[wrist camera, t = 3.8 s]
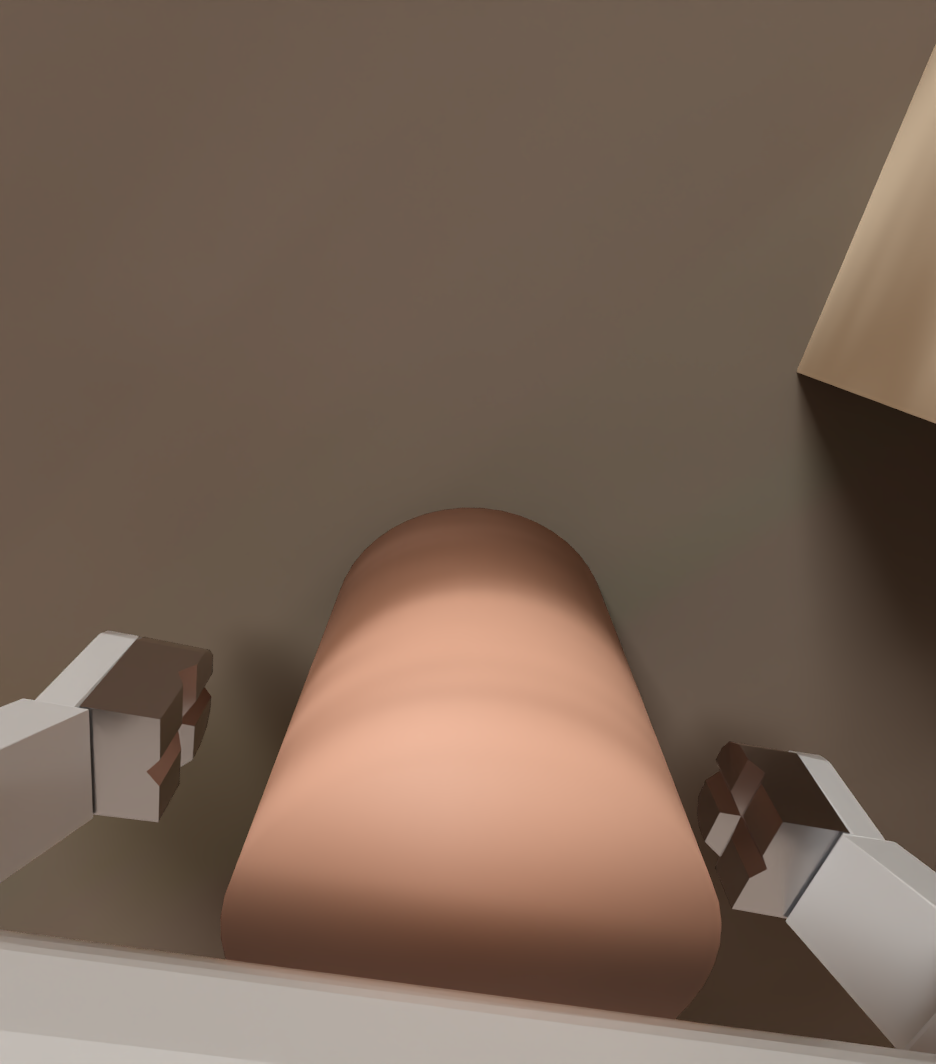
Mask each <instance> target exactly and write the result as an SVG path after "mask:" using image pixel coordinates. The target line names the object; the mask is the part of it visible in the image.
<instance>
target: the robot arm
mask: <svg viewBox="0 0 936 1064" xmlns="http://www.w3.org/2000/svg"><path fill="white" fill-rule="evenodd" d="M212 673H213V654H212V652H211V651H210V650H208V649H203V648H198V647H193V646H188V645H183V644H178V643H173V642H168V641H163V640H158V639H153V638H148V637H140V636H136V635H130V634H125V633H120V632H114V631H106V632H103V633H100V634H99V635H98V636H97V637H96V638H95V639H94V640H93V641H92V642H91V643H90V644H89V645H88V646H87V647H86V648H85V649H84V650H83V651H82V652H81V653H80V654H79V655H78V656H77V657H76V658H75V659H74V660H73V661H72V662H71V663H70V664H69V665H68V666H67V667H66V669H65V670H64V671H63V672H62V673H61V674H60V675H59V676H58V677H57V678H56V679H55V680H54V681H53V682H52V683H51V684H50V685H49V686H48V687H47V688H46V689H45V690H44V691H43V692H42V693H41V694H40V695H39V696H38V697H37V698H36V699H35V700H29V699H21V700H18V701H16V702H13V703H10V704H8V705H5V706H3V707H0V883H1V882H2V881H4V880H5V879H6V878H8V877H9V876H11V875H12V874H14V873H15V872H16V871H18V870H19V869H21V868H22V867H24V866H25V865H26V864H28V863H29V862H31V861H32V860H34V859H35V858H37V857H38V856H39V855H41V854H42V853H44V852H45V851H47V850H48V849H49V848H51V847H52V846H54V845H55V844H57V843H58V842H59V841H61V840H62V839H64V838H65V837H67V836H68V835H69V834H71V833H72V832H74V831H75V830H77V829H78V828H80V827H81V826H82V825H84V824H85V823H87V822H88V821H90V820H91V819H92V818H93V814H95V815H103V816H111V817H119V818H128V819H136V820H144V821H152V822H159V820H160V818H161V817H162V815H163V813H164V811H165V809H166V808H167V806H168V804H169V802H170V800H171V799H172V797H173V795H174V793H175V791H176V789H177V788H178V786H179V784H180V767H181V766H183V765H185V764H186V763H188V762H190V761H191V760H193V758H194V756H195V754H196V752H197V750H198V749H199V747H200V745H201V742H202V739H203V736H204V733H205V730H206V728H207V724H208V719H209V714H210V707H211V696H210V694H209V693H208V691H207V690H206V688H205V685H206V683H207V682H208V680H209V678H210V677H211V675H212ZM716 762H717V765H718V768H719V770H720V771H719V772H718V773H716V774H715V775H713V776H711V777H710V778H708V779H707V780H705V782H704V785H703V787H702V789H701V792H700V794H699V796H698V808H697V816H698V822H699V828H700V830H701V833H702V836H703V838H704V841H705V842H706V843H707V844H708V845H709V846H710V847H711V848H712V849H713V850H714V851H715V852H716V853H717V854H718V855H719V858H718V861H717V864H716V867H715V869H716V871H717V873H718V876H719V878H720V881H721V883H722V886H723V888H724V891H725V893H726V895H727V898H728V900H729V903H730V905H731V908H732V909H736V910H742V911H747V912H753V913H758V914H764V915H769V916H775V917H780V918H786V919H787V920H786V923H787V924H788V925H789V926H790V927H791V928H792V929H793V931H794V932H795V933H796V934H797V935H798V936H799V937H800V939H801V940H802V941H803V942H804V943H805V944H806V946H807V947H808V948H809V949H810V950H811V951H812V952H813V954H814V955H815V956H816V957H817V958H818V959H819V960H820V962H821V963H822V964H823V965H824V966H825V967H826V969H827V970H828V971H829V972H830V973H831V974H832V975H833V977H834V978H835V979H836V980H837V981H838V982H839V983H840V985H841V986H842V987H843V988H844V989H845V990H846V992H847V993H848V994H849V995H850V996H851V997H852V998H853V1000H854V1001H855V1002H856V1003H857V1004H858V1005H859V1006H860V1008H861V1009H862V1010H863V1011H864V1012H865V1013H866V1015H867V1016H868V1017H869V1018H870V1019H871V1020H872V1021H873V1023H874V1024H875V1025H876V1026H877V1027H878V1028H879V1029H880V1031H881V1032H882V1033H883V1034H884V1035H885V1036H886V1037H887V1039H888V1040H889V1041H890V1042H891V1043H892V1044H893V1046H894V1047H895V1048H896V1049H894V1048H887V1047H879V1046H872V1045H864V1044H857V1043H849V1042H842V1041H835V1040H827V1039H820V1038H812V1037H805V1036H797V1035H789V1034H782V1033H774V1032H767V1031H759V1030H751V1029H744V1028H736V1027H729V1026H721V1025H714V1024H706V1023H698V1022H691V1021H683V1020H676V1019H668V1018H661V1017H653V1016H645V1015H638V1014H630V1013H623V1012H615V1011H608V1010H600V1009H593V1008H585V1007H578V1006H570V1005H563V1004H555V1003H548V1002H540V1001H533V1000H525V999H518V998H510V997H503V996H495V995H488V994H480V993H473V992H466V991H458V990H451V989H443V988H436V987H428V986H421V985H413V984H406V983H398V982H391V981H383V980H376V979H368V978H361V977H353V976H346V975H338V974H331V973H323V972H316V971H308V970H301V969H293V968H286V967H278V966H271V965H263V964H256V963H248V962H241V961H233V960H226V959H218V958H211V957H203V956H196V955H188V954H181V953H173V952H166V951H158V950H151V949H143V948H135V947H128V946H120V945H113V944H105V943H98V942H90V941H83V940H75V939H68V938H60V937H53V936H45V935H38V934H30V933H23V932H15V931H8V930H0V1064H936V872H935V871H933V870H932V869H930V868H929V867H928V866H926V865H925V864H924V863H922V862H921V861H920V860H918V859H917V858H916V857H914V856H913V855H912V854H910V853H909V852H908V851H906V850H905V849H904V848H902V847H901V846H900V845H898V844H897V843H896V842H892V841H887V840H885V839H884V838H883V836H882V835H881V833H880V832H879V831H878V829H877V828H876V826H875V825H874V824H873V822H872V821H871V819H870V818H869V817H868V815H867V814H866V812H865V811H864V810H863V808H862V807H861V805H860V804H859V803H858V801H857V800H856V798H855V797H854V796H853V794H852V793H851V791H850V790H849V789H848V787H847V786H846V784H845V783H844V782H843V780H842V779H841V777H840V776H839V775H838V773H837V772H836V770H835V769H834V768H833V766H832V765H831V763H830V762H829V761H828V760H826V759H825V758H823V757H822V756H820V755H816V754H809V753H802V752H796V751H783V750H778V749H772V748H766V747H760V746H754V745H748V744H742V743H736V742H728V743H727V744H726V745H725V746H723V747H722V749H721V751H720V753H719V754H718V756H717V758H716Z"/></svg>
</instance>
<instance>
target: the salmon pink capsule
mask: <svg viewBox="0 0 936 1064" xmlns="http://www.w3.org/2000/svg"><path fill="white" fill-rule="evenodd" d="M721 925H722V923H721V915H720V907H719V901H718V898H717V895H716V892H715V889H714V886H713V883H712V881H711V878H710V875H709V873H708V870H707V868H706V865H705V862H704V860H703V857H702V855H701V852H700V849H699V847H698V844H697V842H696V839H695V836H694V834H693V831H692V829H691V826H690V823H689V821H688V818H687V816H686V813H685V810H684V808H683V805H682V803H681V800H680V797H679V795H678V792H677V790H676V787H675V784H674V782H673V779H672V777H671V774H670V771H669V769H668V766H667V764H666V761H665V758H664V756H663V753H662V751H661V748H660V745H659V743H658V740H657V738H656V735H655V732H654V730H653V727H652V725H651V722H650V719H649V717H648V714H647V712H646V709H645V706H644V704H643V701H642V699H641V696H640V693H639V691H638V688H637V686H636V683H635V680H634V678H633V675H632V673H631V670H630V667H629V665H628V662H627V660H626V657H625V654H624V652H623V649H622V647H621V644H620V641H619V639H618V636H617V634H616V631H615V628H614V626H613V623H612V621H611V618H610V615H609V613H608V610H607V608H606V605H605V602H604V600H603V597H602V595H601V592H600V589H599V587H598V584H597V582H596V580H595V578H594V576H593V574H592V573H591V571H590V569H589V567H588V566H587V565H586V563H585V562H584V561H583V559H582V558H581V556H580V555H579V554H578V553H577V552H576V551H575V550H574V549H573V548H572V547H571V546H570V545H569V544H568V543H567V542H566V541H564V540H563V539H562V538H560V537H559V536H558V535H556V534H555V533H554V532H552V531H551V530H549V529H547V528H545V527H544V526H542V525H540V524H538V523H536V522H534V521H531V520H529V519H527V518H524V517H522V516H519V515H515V514H511V513H508V512H504V511H499V510H492V509H485V508H457V509H447V510H441V511H437V512H432V513H428V514H424V515H421V516H419V517H416V518H413V519H410V520H408V521H406V522H404V523H402V524H400V525H398V526H396V527H394V528H392V529H391V530H389V531H388V532H386V533H385V534H383V535H382V536H381V537H379V538H378V539H376V540H375V541H374V542H373V543H372V544H371V545H370V546H369V547H368V548H367V549H366V550H364V552H363V553H362V554H361V555H360V556H359V558H358V559H357V560H356V561H355V563H354V564H353V565H352V567H351V569H350V571H349V572H348V574H347V576H346V577H345V579H344V582H343V584H342V587H341V589H340V592H339V594H338V597H337V600H336V602H335V605H334V608H333V610H332V613H331V616H330V618H329V621H328V624H327V626H326V629H325V631H324V634H323V637H322V639H321V642H320V645H319V647H318V650H317V653H316V655H315V658H314V661H313V663H312V666H311V669H310V671H309V674H308V676H307V679H306V682H305V684H304V687H303V690H302V692H301V695H300V698H299V700H298V703H297V706H296V708H295V711H294V714H293V716H292V719H291V722H290V724H289V727H288V729H287V732H286V735H285V737H284V740H283V743H282V745H281V748H280V751H279V753H278V756H277V759H276V761H275V764H274V767H273V769H272V772H271V774H270V777H269V780H268V782H267V785H266V788H265V790H264V793H263V796H262V798H261V801H260V804H259V806H258V809H257V812H256V814H255V817H254V819H253V822H252V825H251V827H250V830H249V833H248V835H247V838H246V841H245V843H244V846H243V849H242V851H241V854H240V857H239V859H238V862H237V865H236V867H235V870H234V872H233V875H232V878H231V880H230V883H229V886H228V888H227V891H226V894H225V897H224V902H223V907H222V913H221V941H222V945H223V949H224V954H225V958H226V960H233V961H241V962H248V963H256V964H263V965H271V966H278V967H286V968H293V969H301V970H308V971H316V972H323V973H331V974H338V975H346V976H353V977H361V978H368V979H376V980H383V981H391V982H398V983H406V984H413V985H421V986H428V987H436V988H443V989H451V990H458V991H466V992H473V993H480V994H488V995H495V996H503V997H510V998H518V999H525V1000H533V1001H540V1002H548V1003H555V1004H563V1005H570V1006H578V1007H585V1008H593V1009H600V1010H608V1011H615V1012H623V1013H630V1014H638V1015H645V1016H653V1017H661V1018H668V1019H675V1018H676V1017H677V1016H678V1015H679V1014H680V1013H681V1012H682V1011H683V1010H684V1009H685V1008H686V1007H687V1006H688V1005H689V1004H690V1003H691V1002H692V1001H693V999H694V998H695V996H696V995H697V994H698V992H699V991H700V990H701V988H702V987H703V985H704V984H705V982H706V980H707V978H708V976H709V974H710V972H711V970H712V968H713V966H714V963H715V960H716V956H717V953H718V949H719V946H720V937H721Z"/></svg>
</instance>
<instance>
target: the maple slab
mask: <svg viewBox="0 0 936 1064" xmlns="http://www.w3.org/2000/svg"><path fill="white" fill-rule="evenodd" d="M797 372H798V373H801V374H803V375H806V376H809V377H811V378H814V379H817V380H819V381H822V382H825V383H828V384H830V385H833V386H836V387H838V388H841V389H844V390H846V391H849V392H852V393H855V394H857V395H860V396H863V397H865V398H868V399H871V400H874V401H876V402H879V403H882V404H884V405H887V406H890V407H892V408H895V409H898V410H901V411H903V412H906V413H909V414H911V415H914V416H917V417H919V418H922V419H925V420H928V421H930V422H933V423H936V44H935V47H934V49H933V51H932V54H931V56H930V58H929V61H928V63H927V66H926V68H925V70H924V73H923V75H922V77H921V80H920V82H919V84H918V87H917V89H916V91H915V94H914V96H913V99H912V101H911V103H910V106H909V108H908V110H907V113H906V115H905V117H904V120H903V122H902V124H901V127H900V129H899V132H898V134H897V136H896V139H895V141H894V143H893V146H892V148H891V150H890V153H889V155H888V157H887V160H886V162H885V165H884V167H883V169H882V172H881V174H880V176H879V179H878V181H877V183H876V186H875V188H874V190H873V193H872V195H871V198H870V200H869V202H868V205H867V207H866V209H865V212H864V214H863V216H862V219H861V221H860V223H859V226H858V228H857V231H856V233H855V235H854V238H853V240H852V242H851V245H850V247H849V249H848V252H847V254H846V256H845V259H844V261H843V264H842V266H841V268H840V271H839V273H838V275H837V278H836V280H835V282H834V285H833V287H832V289H831V292H830V294H829V297H828V299H827V301H826V304H825V306H824V308H823V311H822V313H821V315H820V318H819V320H818V322H817V325H816V327H815V330H814V332H813V334H812V337H811V339H810V341H809V344H808V346H807V348H806V351H805V353H804V355H803V358H802V360H801V363H800V365H799V367H798V370H797Z"/></svg>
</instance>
